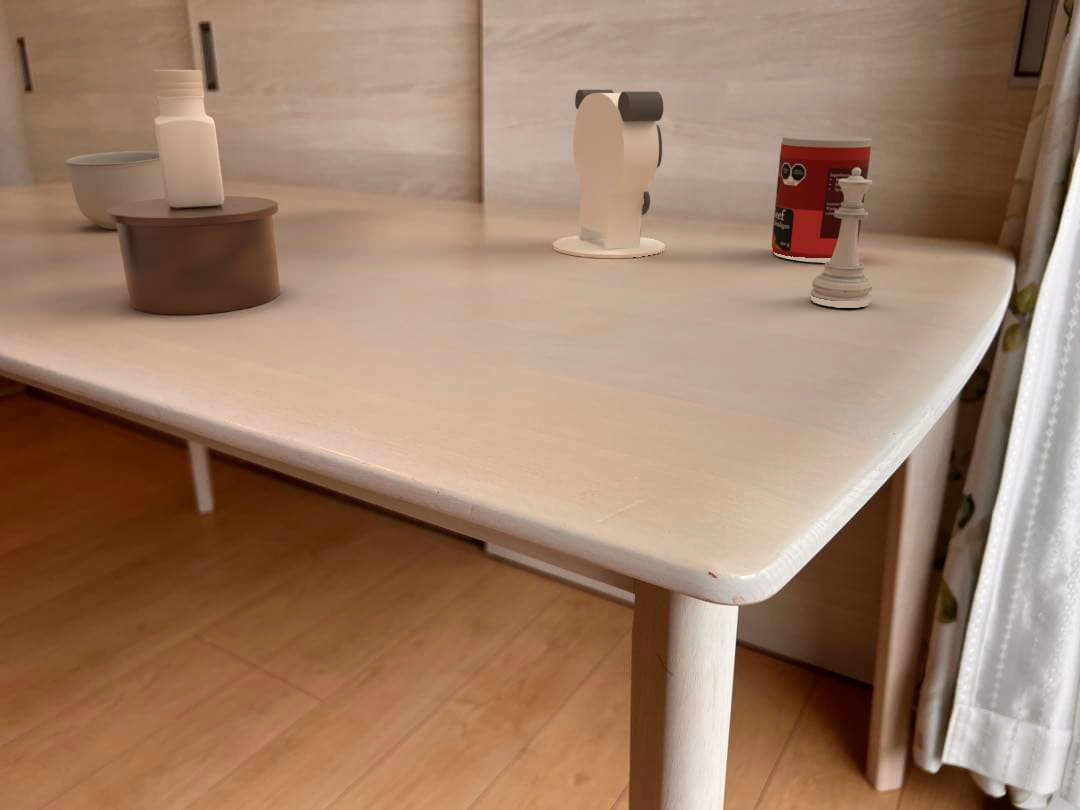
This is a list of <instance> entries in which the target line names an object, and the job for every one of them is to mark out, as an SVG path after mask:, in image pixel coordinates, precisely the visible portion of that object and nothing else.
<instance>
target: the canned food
mask: <svg viewBox="0 0 1080 810" xmlns="http://www.w3.org/2000/svg"><path fill="white" fill-rule="evenodd" d="M781 139H782V140H781V144H780V145H781V146H780V153H779V162H778V173H777V181H776V182H777V184H776V193H775V204H774V214H773V225H772V234H771V235H772V237H771V249H772V253H773V252H775V253H777V254H781V255H785V256H791V257H792V256H793V257H805V258H832V256H833V253H834V250H835V248H836V244H837V241H838V237H839V232H840V227H841V222H842V219H841V218H837V217H834V212H835V210H839V208H840V207H842V206H841V203H842V202H844V194H843V191H842V189H841V187H840V185H839V184H838V181H839V179H847V178H848V177H850V176H852V170H853V169H854V168H860V169H861V174H860V176H862V177H863V178H864V179H866V180H868V176H869V175H868V174H869V167H870V159H871V151H872V138H870V137H866V136H855V135H835V134H828V135H827V134H792V135H785V136H783V137H782V138H781ZM865 196H866V192H865V193H864V195H863V198H862V202H861V203H863V204H864V202H865ZM862 208H864V206H863V207H862ZM861 223H862V219H859V224H858V236H857V242H858V243H859V239H860V231H861V225H862V224H861Z"/></svg>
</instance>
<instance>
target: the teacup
mask: <svg viewBox="0 0 1080 810" xmlns="http://www.w3.org/2000/svg"><path fill="white" fill-rule="evenodd" d="M64 162H65V165H66V167H67V169H68V174H69V178H70V182H71V183H70V184H71V186H72V189H73V193H74V197H75V201H76V204H77V206H78V209H79V211H80V212H81V214H82V215H83V216H84V217H85V218H86V219H88V220H89V221H91V222H93V223H95V224H96V225H98V226H99V228H102V229H105V230H115V231H118V230H117V225H116V223H115V222H111V221H110V220H109V219H108V217H107V210H108V209H109V208H111V207H114V206H117V205H121V204H125V203H131V202H137V201H145V200H153V199H164V198H166V197H165V191H164V184H163V178H162V171H161V164H160V158H159V151H158V150H124V151H111V152H109V151H107V152H98V153H89V154H88V153H87V154H80V155H77V156H73V157H70V158H68V159H66V160H65V161H64Z"/></svg>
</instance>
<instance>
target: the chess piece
mask: <svg viewBox="0 0 1080 810" xmlns="http://www.w3.org/2000/svg"><path fill="white" fill-rule="evenodd" d="M860 174H861V169H860V168H854V169H853V170H852V176H850V177H848V178H847V179H839V181H838V184H839V185H840V187H841V189H842V191H843V194H844V202H842V203H841V206H842V207H840V208H839V210H835V212H834V217H837V218H841V219H842V222H841V227H840V232H839V237H838V241H837V244H836V248H835V250H834V253H833V256H832V258H831V260H830V262H826V263H824V270H823V271H822V272H821V273H820V274H818V275H816V276H815V277H814V279H813V280H812V284H811V285H812V289H811V290H810V294H811V295H812V296H813V297H816V298H819V299H824V300H830V301H860V300H866V299H868V298H870V297H871V298H872V295H871V293H870V292H871V291H872V288H873V285H872V282H871V280H869V278H867V277H866V275H864V272H863V271H864V269H865V265H864V264H863V263H860V259H859V247H858V246H859V241H858V242H857V236H858V224H859V219H861V220H866V219H868V217H869V212H868V211H866V210H865V208H864V203H861V202H862V198H863V195H864V193H865V194H866V192H867V191H868V189H869V188H871V186H872V185H873V180H872V179H867V180H866V179H864V178H863V177H862V176H860ZM862 207H863V208H862Z"/></svg>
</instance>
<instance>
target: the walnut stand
mask: <svg viewBox="0 0 1080 810" xmlns="http://www.w3.org/2000/svg"><path fill="white" fill-rule="evenodd" d="M278 212H279V203H278V202H277V201H276V200H273V199H270V198H265V197H256V196H243V195H224V201H223V204H222V205H220V206H218V207H204V208H185V209H175V208H172V207H170V206H169V204H168V203H167V201H166V198H164V199H153V200H145V201H137V202H131V203H125V204H121V205H117V206H114V207H111V208H109V209H108V210H107V217H108V219H109V220H110V221H111V222H115V223H116V225H117V230H116V231H117V237H118V242H119V248H120V253H121V254H120V255H121V259H122V265H123V270H124V271H123V272H124V276H125V277H124V278H125V282H126V287H127V288H126V289H127V294H128V299H129V304H130V307H132V308H133V309H135V310H137V311H141V312H144V313H150V314H155V315H157V314H158V315H172V316H186V315H187V316H188V315H189V316H190V315H192V316H193V315H207V314H217V313H226V312H233V311H239V310H244V309H249V308H252V307H257V306H260V305H264V304H267V303H268V302H272V301H273V300H275V299H276V298H278V297H279V296H280V294H281V287H280V286H281V284H280V274H279V266H278V256H277V247H276V238H275V229H274V227H275V226H274V219H273V218H274V217H273V216H274V215H276V214H277V213H278Z"/></svg>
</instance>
